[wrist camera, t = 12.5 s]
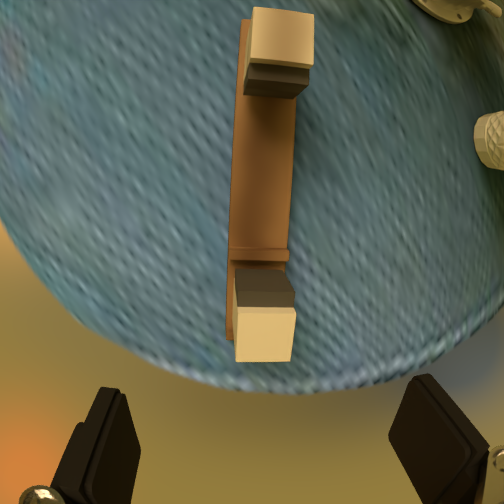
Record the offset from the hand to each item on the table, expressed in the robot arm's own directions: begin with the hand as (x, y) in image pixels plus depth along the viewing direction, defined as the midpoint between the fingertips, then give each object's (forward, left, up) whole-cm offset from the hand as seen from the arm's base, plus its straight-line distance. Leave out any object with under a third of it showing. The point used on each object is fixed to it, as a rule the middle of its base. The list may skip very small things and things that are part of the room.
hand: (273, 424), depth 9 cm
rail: (-2, -7, -21) cm, 22 cm away
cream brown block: (-2, +4, -19) cm, 20 cm away
